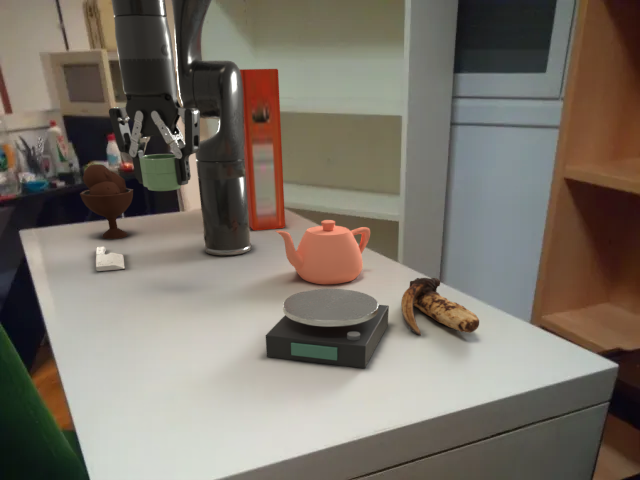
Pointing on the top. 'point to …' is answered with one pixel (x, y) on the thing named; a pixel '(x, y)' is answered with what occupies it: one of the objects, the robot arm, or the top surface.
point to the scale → (327, 341)
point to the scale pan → (330, 307)
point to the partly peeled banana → (435, 307)
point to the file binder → (263, 149)
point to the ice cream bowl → (106, 197)
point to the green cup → (159, 172)
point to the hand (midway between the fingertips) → (163, 183)
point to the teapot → (327, 253)
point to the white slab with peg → (108, 260)
